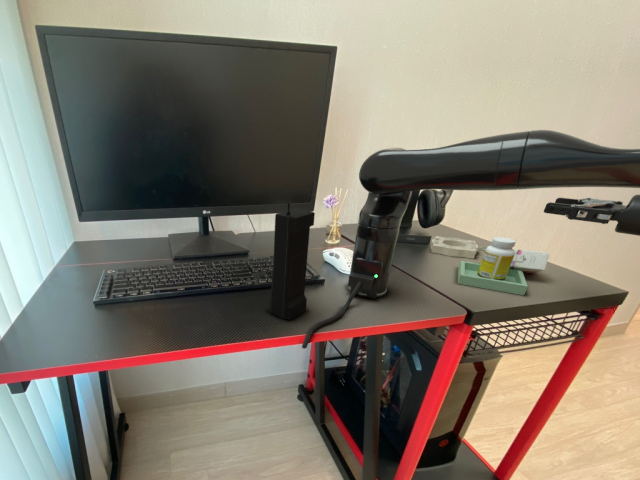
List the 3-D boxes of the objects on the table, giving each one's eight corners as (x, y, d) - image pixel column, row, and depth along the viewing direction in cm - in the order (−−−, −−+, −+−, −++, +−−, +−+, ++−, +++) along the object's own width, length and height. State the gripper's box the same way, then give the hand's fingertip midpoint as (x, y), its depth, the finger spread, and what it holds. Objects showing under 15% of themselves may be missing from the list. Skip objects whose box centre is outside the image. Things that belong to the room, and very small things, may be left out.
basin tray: (524, 295, 79) (528, 286, 78) (457, 283, 86) (460, 275, 85) (518, 278, 88) (521, 269, 87) (458, 268, 95) (461, 260, 94)
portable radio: (288, 300, 79) (294, 194, 67) (309, 308, 75) (319, 198, 63) (267, 312, 74) (270, 200, 62) (288, 321, 70) (295, 204, 58)
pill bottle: (503, 277, 88) (518, 238, 82) (504, 286, 83) (521, 244, 78) (475, 273, 91) (489, 234, 85) (475, 281, 86) (490, 240, 81)
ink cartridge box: (532, 274, 91) (471, 265, 98) (537, 257, 91) (475, 249, 97) (545, 271, 84) (477, 262, 90) (550, 252, 83) (482, 244, 89)
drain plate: (476, 259, 101) (478, 252, 100) (428, 252, 107) (430, 245, 106) (475, 247, 111) (477, 240, 110) (431, 242, 117) (433, 235, 116)
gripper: (672, 193, 64) (565, 184, 75) (669, 202, 56) (549, 191, 68) (650, 230, 68) (550, 216, 79) (644, 244, 60) (534, 226, 71)
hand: (550, 204), depth 73 cm, fingers open, 8 cm apart
